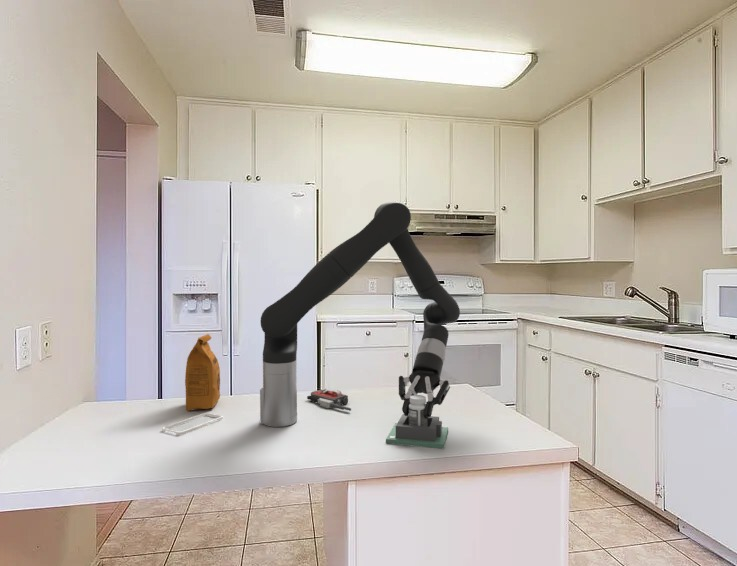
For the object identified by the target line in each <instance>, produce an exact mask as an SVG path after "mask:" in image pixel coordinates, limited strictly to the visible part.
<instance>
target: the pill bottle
mask: <svg viewBox="0 0 737 566" xmlns="http://www.w3.org/2000/svg"><path fill="white" fill-rule="evenodd" d="M426 402H427V397H426V396H425V395H420V394H417V395H412V396H410V404H409V425H415V426H427V427H428V424H427V419H425V417H424V411H425V406H426Z"/></svg>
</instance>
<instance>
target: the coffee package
mask: <svg viewBox="0 0 737 566" xmlns="http://www.w3.org/2000/svg"><path fill="white" fill-rule="evenodd" d="M211 339H212V336H211V335H210V333H207V334H205V335H204V334H203V336H200V337H198V338H197V341H196V343H195V344H194V346H193V347H192V349H191V350H190V352H189V354H188V356H187V358H186V359H187V360H186V366H185V377H184V384H185V386H184V387H185V411H187V412H188V411H189V412H191V411H198V410H208V409H213V408H214V407H215V406H216V404H217V403H218V402H219V400H220V398H221V391H220V390H221V389H220V388H221V369H220V368H221V367H220V363H219V360H218V358H217V356H216V355H215V354H214V352H213V351H212V350H211V347H210V343H209V341H210V340H211Z"/></svg>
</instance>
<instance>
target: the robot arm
mask: <svg viewBox="0 0 737 566" xmlns="http://www.w3.org/2000/svg"><path fill="white" fill-rule="evenodd" d="M411 220H412V215H411V211H410V209H409V207H407V205H406V204H404V203H402V202H399V201H388V202H384V203H382V204H380V205H379V206H378V207H377V208H376V210H375V212H374V215H373V218H372V219H371V220H370V222H368V223H367V224H366V225H365V227H363V229H361V230H360V231H359V232H358V233H355V235H353V236H351V237H350V238H348V239H346V240H345V241H343V242H342V243H340V244H338V245H337V246H336V247H334V248H333V249H331V251H329V252H328V253H326V255H324V257H322V258H321V259H320V260H319V261H317V263H316V264H315V265H314V266H313V267H312V268H311V269H310V270H309V271H308V272H307V274H306V275H304V277H303V278H302V279H301V280H300V281H299V282H298V284H296V285H295V287H294V288H292V289H291V290H290V291H289V292H287V293H286V294H284V295H283V296H282V297H281V298H279V299H278V300H276V301H274V303H272V304H270V305H269V306H267V307H266V308H265V309H264V310H263V312H262V313H261V316H260V327H261V330H262V331H263V333H264V339H263V340H264V342H263V350H262V387H261V388H260V389H259V407H260V409H259V416H260V419H259V421H260V422H259V423H260V424H263V425H265V426H268V427H273V428H275V427H278V428H280V427H287V426H291V425H293V424H296V423H297V421H298V402H297V401H298V395H297V393H298V391H297V390H298V389H297V388H298V387H297V382H298V381H297V379H298V378H297V354H298V353H297V351H298V324H299V322H301V320H302V319H303V317H305V316H306V314H308V313H309V312H310V310H312V309H313V308H314V307H315V306H317V305H318V304H319V303H321V302H323V301H324V300H325V299H327V298H328V297H330V296H331V295H333V294H334V293H335V292H336V291H338V290H339V289H340V288H341V287H343V286H344V285H345V284H346V283H347V282H348V281H349V280H350V279H351V278H353V277H354V275H355V274H357V273H358V272H359V271H360V270H361V269H362V268H363V267H364V266H365V265H366V264H367V263H368V262H369V261H370V260H371V259H372V257H373V256H374V255H375V254H376V253H378V252H379V251H380V250H381V249H383V248H384V247H385V246H387V245H388V244H389V245H390V246H391V248H392V249H393V250H394V252H395V254H396V256H397V257H398V259H399V261H400V262H401V265H402V266H403V268H404V270H405V273H406V275H407V276H408V278H409V280H410V282H411V284H412V286H413V287H414V289H415V291H416V293H417V295H418V297H420V299H421V300H431V301H434V302H431V303H428V304H427V305H426V306H425V307H424V309H423V313H422V314H423V334H422V337H421V341H420V344H419V346H418V348H417V352H416V356H415V359H414V363H413V367H412V370H411V373H410V374H409V376H405V377H404V376H403V375H400V376H398V395H399V397H400V399H401V400H402V401H403V403H402V407H401V411H402V413H403V414H404V415H405V416H408V414H409V404H410V396H412V395H419V394H422V393H423V394H425V395H427V401H426V403H425V404H426V406H425V411H424V417H425V419H428V418H429V417H430V416H432V413H433V409H434V406H436V405H438V406H441V405H442V404H443V402H444V400H445V398H446V396H447V394H448V393H449V390H450V388H451V386H450V383H449V380H441V375H442V370H443V366H444V362H445V358H446V349H447V344H448V338H449V330H448V328H447V327H446V326H444V325H447V324H451V323H454V322H456V321H458V319H459V318H460V316H461V315H460V313H461V311H460V306H459V304H458V303H457V301H456V300H455V299H454V298H453V296H452V295H451V294H450V293H449V292H448V291H447V290H446V288H444V286H442V285H441V283H440V281H439V279H438V278H437V275H436V274H435V272H434V270H433V268H432V266H431V264H430V263H429V262H428V260H427V259H426V257H425V256H424V255H423V253H422V252H421V250H420V249H419V247H417V245H416V243H415V241H414V239H413V238H412V236H411V234H410V232H409V227H410V224H411V222H412V221H411ZM409 382H410V385H409V387H408V390H407V391H406V387H407V386H408V383H409ZM438 387H439V390H438V392H437V394H436V396H435V395H434V394H435V393H434V390H436V389H437V388H438Z"/></svg>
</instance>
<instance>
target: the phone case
mask: <svg viewBox="0 0 737 566" xmlns="http://www.w3.org/2000/svg"><path fill="white" fill-rule="evenodd" d="M202 417H211V418H214V419H211V420H209V421H206V422H203V423H201V424H198V425H195V426H192V427H189V428H187V429H185V430H181V431H179V430H173V429H172V428H175V427H178V426H181V425H183V424H186V423H189V422H192V421H194V420H197V419H200V418H202ZM222 419H223V420H224V416H223V415H220V414H214V413H211V412H203V413H201V414H198V415H197V414H196V415H195V416H192V417H189V418H186V419H183V420H181V421H178V422H174V423H173V424H170V425H167V426H163V427H162V429H161V431H162V432H163V433H165V432H166V431H167V432H170V433H171V432H172V433H175V434H176V436H184V435H186V434H189V433H192V432H193V431H197V430H199V429H202V428H205V427H207V426H208V424H210V423H213V422H216V421H219V422H220V421H222Z"/></svg>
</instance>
